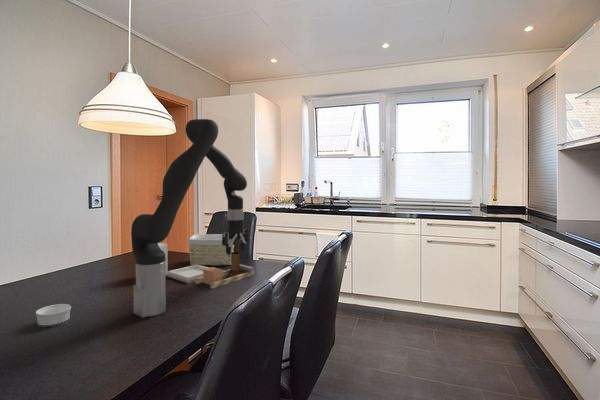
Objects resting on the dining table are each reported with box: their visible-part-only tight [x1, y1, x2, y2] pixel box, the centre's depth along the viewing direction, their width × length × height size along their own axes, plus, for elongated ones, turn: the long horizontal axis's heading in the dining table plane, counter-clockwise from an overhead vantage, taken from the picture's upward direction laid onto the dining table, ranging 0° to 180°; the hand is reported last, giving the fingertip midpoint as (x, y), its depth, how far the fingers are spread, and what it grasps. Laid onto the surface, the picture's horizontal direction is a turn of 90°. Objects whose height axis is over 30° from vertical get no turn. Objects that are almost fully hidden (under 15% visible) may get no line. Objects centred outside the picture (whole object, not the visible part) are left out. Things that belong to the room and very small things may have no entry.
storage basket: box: [187, 233, 234, 266], centre depth 178 cm, size 24×16×15 cm
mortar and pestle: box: [227, 239, 243, 278], centre depth 153 cm, size 7×6×18 cm
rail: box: [194, 263, 255, 290], centre depth 149 cm, size 24×12×4 cm, turn 143°
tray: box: [167, 265, 210, 284], centre depth 154 cm, size 16×16×2 cm
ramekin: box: [35, 303, 72, 326], centre depth 103 cm, size 9×9×4 cm
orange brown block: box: [202, 266, 224, 286], centre depth 143 cm, size 5×7×6 cm
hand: (235, 252), depth 153 cm, fingers open, 8 cm apart
